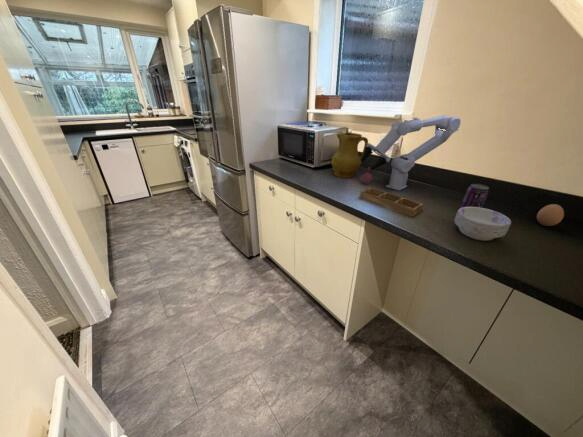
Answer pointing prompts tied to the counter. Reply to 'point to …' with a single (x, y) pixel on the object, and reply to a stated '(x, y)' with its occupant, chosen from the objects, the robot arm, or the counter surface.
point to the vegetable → (367, 177)
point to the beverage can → (475, 196)
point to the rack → (391, 201)
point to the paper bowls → (481, 223)
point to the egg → (550, 215)
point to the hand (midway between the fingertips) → (366, 165)
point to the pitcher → (347, 154)
